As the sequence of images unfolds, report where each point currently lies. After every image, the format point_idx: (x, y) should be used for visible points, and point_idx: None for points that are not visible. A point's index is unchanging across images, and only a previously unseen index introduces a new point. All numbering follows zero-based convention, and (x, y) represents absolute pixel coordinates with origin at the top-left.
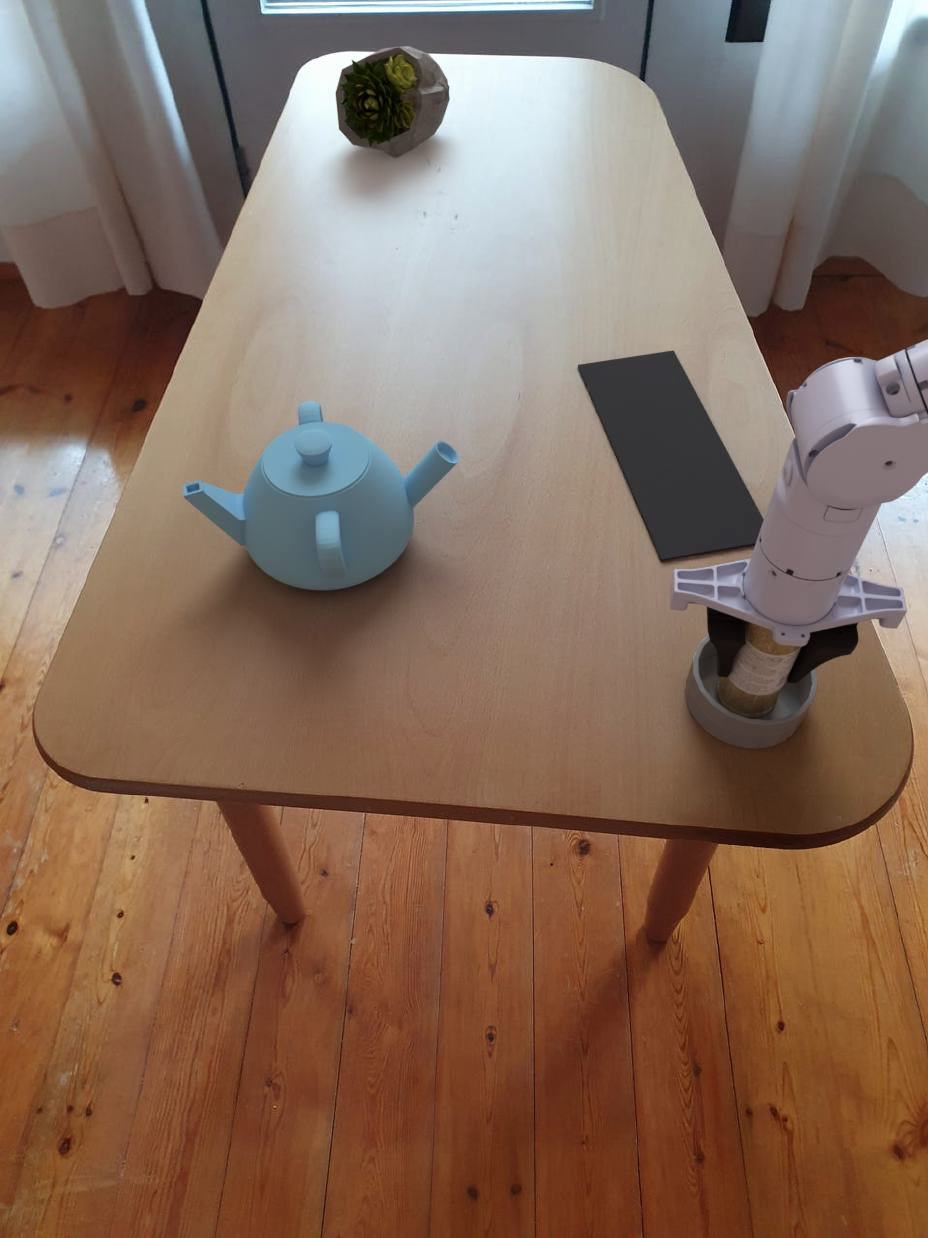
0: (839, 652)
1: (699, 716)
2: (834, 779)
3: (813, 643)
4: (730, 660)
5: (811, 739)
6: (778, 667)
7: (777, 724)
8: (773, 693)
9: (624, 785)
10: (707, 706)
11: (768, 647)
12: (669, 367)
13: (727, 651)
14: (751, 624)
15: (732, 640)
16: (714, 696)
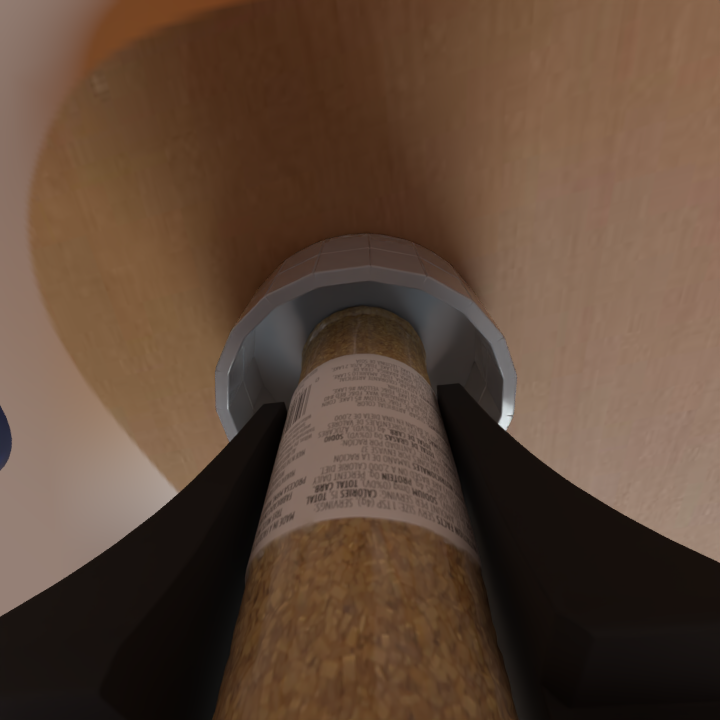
0: (19, 644)
1: (465, 283)
2: (144, 201)
3: (193, 610)
4: (479, 444)
5: (218, 291)
6: (318, 455)
7: (289, 282)
8: (313, 368)
9: (669, 26)
10: (474, 298)
11: (386, 560)
12: None
13: (534, 490)
14: (496, 674)
15: (665, 636)
16: (426, 341)
